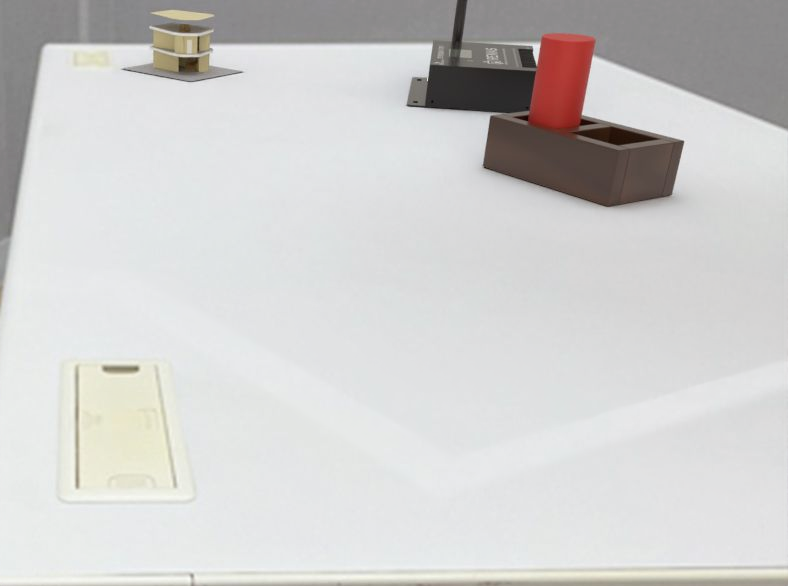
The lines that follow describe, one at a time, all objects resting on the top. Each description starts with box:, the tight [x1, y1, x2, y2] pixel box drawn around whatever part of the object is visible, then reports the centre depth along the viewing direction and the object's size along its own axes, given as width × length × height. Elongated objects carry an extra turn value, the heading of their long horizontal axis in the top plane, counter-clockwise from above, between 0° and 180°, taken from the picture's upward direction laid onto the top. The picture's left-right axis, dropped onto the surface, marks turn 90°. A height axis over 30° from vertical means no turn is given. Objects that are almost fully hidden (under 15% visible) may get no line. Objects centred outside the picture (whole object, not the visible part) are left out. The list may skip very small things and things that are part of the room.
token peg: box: [528, 32, 597, 129], centre depth 94 cm, size 4×4×10 cm
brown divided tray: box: [482, 111, 685, 207], centre depth 94 cm, size 7×13×4 cm, turn 32°
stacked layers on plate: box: [120, 9, 244, 82], centre depth 130 cm, size 10×9×6 cm
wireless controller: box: [406, 0, 537, 113], centre depth 121 cm, size 20×14×17 cm
